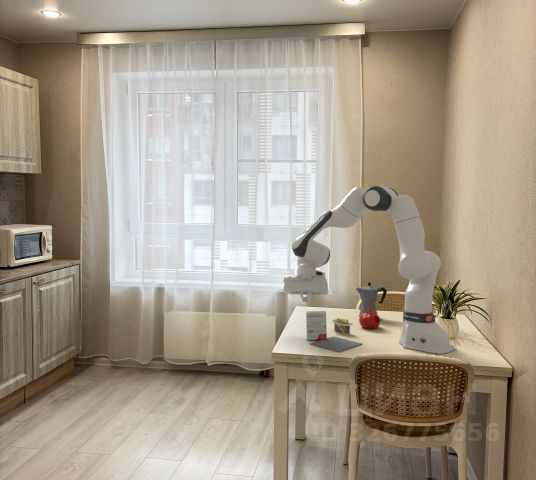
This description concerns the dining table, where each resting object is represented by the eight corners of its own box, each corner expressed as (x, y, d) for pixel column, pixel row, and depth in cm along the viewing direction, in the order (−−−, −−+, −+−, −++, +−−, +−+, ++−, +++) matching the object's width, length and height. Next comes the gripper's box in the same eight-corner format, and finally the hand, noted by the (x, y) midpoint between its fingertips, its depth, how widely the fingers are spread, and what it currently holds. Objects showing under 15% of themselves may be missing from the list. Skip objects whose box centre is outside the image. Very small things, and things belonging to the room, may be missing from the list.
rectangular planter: (351, 339, 238) (352, 325, 238) (316, 332, 249) (317, 318, 249) (365, 334, 248) (365, 320, 247) (330, 327, 259) (331, 313, 258)
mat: (362, 344, 230) (362, 343, 230) (338, 352, 219) (338, 351, 218) (333, 337, 240) (333, 336, 240) (310, 344, 229) (310, 343, 229)
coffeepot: (356, 319, 274) (357, 283, 272) (354, 315, 283) (355, 280, 281) (387, 320, 273) (388, 284, 271) (384, 315, 282) (385, 281, 280)
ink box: (326, 337, 239) (326, 310, 238) (326, 340, 234) (326, 312, 233) (306, 337, 240) (306, 310, 239) (306, 340, 235) (306, 312, 234)
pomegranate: (358, 329, 255) (358, 310, 254) (359, 324, 264) (360, 305, 263) (380, 331, 252) (380, 311, 251) (380, 325, 262) (381, 306, 261)
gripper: (283, 271, 254) (282, 296, 246) (328, 273, 253) (328, 298, 244) (284, 279, 259) (282, 304, 250) (327, 280, 257) (327, 306, 249)
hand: (305, 301), depth 247 cm, fingers closed
